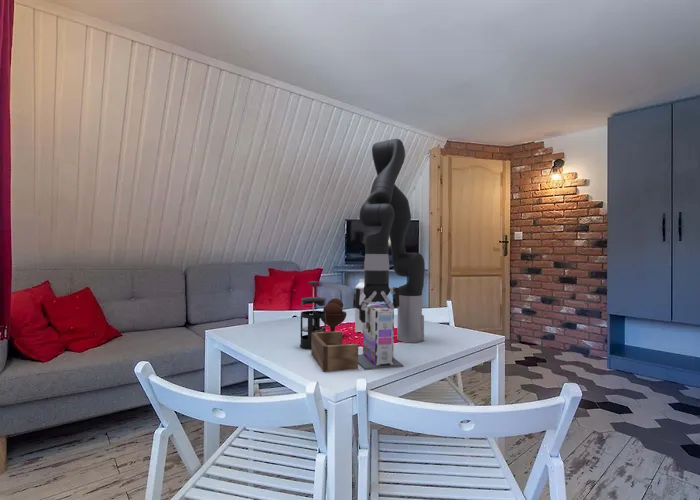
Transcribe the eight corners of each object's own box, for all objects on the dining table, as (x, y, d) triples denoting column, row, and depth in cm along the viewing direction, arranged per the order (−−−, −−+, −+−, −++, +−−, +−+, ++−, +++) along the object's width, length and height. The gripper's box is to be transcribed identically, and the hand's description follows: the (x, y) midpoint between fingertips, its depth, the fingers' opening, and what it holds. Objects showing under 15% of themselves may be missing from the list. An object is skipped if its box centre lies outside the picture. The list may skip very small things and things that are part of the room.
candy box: (394, 365, 116) (394, 309, 116) (375, 366, 114) (375, 309, 114) (379, 353, 129) (379, 302, 129) (361, 354, 128) (362, 303, 127)
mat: (386, 354, 130) (386, 352, 130) (403, 366, 116) (403, 364, 116) (351, 356, 126) (351, 355, 126) (364, 369, 113) (364, 367, 113)
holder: (341, 351, 133) (341, 331, 132) (358, 368, 114) (358, 344, 114) (311, 353, 130) (311, 332, 130) (323, 371, 111) (323, 346, 111)
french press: (322, 350, 134) (323, 283, 134) (296, 349, 135) (296, 282, 135) (329, 342, 145) (330, 280, 145) (305, 341, 147) (305, 279, 147)
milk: (363, 330, 169) (363, 278, 169) (375, 331, 165) (375, 279, 165) (354, 332, 164) (355, 279, 164) (366, 334, 160) (367, 279, 160)
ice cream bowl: (321, 333, 162) (321, 296, 162) (348, 334, 160) (348, 297, 160) (315, 339, 151) (315, 299, 151) (344, 340, 150) (344, 300, 150)
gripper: (393, 268, 127) (393, 318, 127) (351, 268, 123) (350, 320, 123) (403, 269, 120) (402, 322, 120) (358, 269, 116) (357, 325, 116)
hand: (376, 321), depth 121 cm, fingers open, 8 cm apart
